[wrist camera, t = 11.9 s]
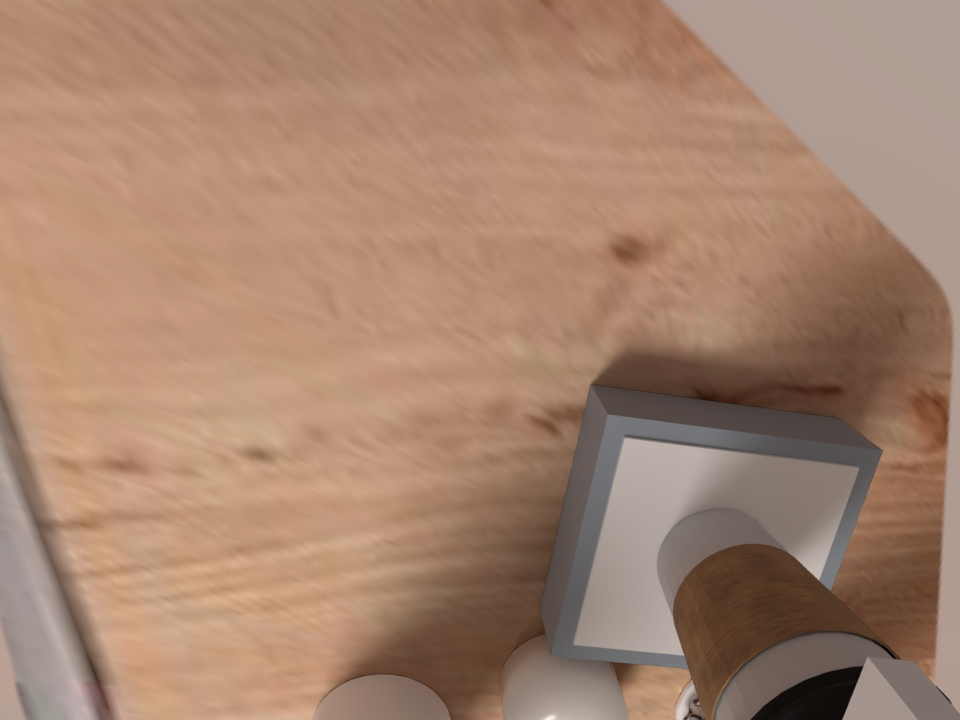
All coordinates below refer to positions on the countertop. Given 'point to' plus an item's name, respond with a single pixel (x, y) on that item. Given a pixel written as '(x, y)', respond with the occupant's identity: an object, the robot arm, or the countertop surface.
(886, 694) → the robot arm
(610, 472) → the podium
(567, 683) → the white dome
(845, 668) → the coffee cup
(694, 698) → the decorative candle
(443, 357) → the countertop surface
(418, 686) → the container
